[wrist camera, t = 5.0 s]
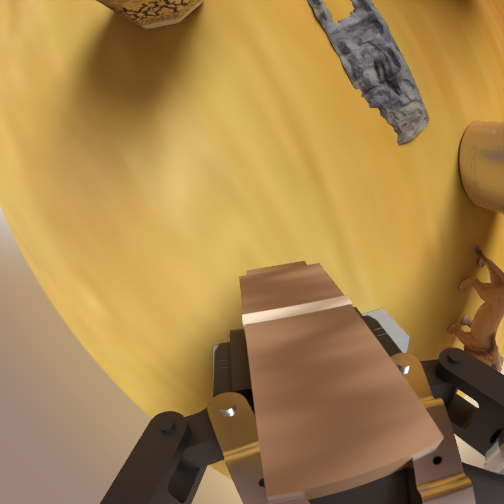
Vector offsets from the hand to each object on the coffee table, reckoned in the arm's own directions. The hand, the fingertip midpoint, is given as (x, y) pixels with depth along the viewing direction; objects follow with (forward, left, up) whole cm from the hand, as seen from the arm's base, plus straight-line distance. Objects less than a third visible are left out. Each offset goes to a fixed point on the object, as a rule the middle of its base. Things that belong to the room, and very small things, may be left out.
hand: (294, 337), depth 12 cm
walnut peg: (0, 0, -4) cm, 4 cm away
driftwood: (-11, -18, -11) cm, 24 cm away
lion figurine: (-24, +11, -10) cm, 28 cm away
